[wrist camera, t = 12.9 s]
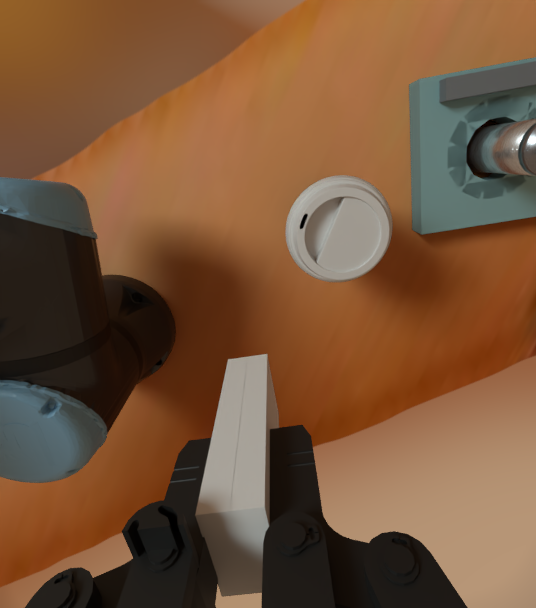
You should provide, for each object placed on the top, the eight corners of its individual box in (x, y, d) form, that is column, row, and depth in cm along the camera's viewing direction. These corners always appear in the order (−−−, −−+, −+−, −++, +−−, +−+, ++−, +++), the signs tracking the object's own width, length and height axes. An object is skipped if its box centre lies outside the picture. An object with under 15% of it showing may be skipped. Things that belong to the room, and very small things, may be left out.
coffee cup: (320, 152, 43) (344, 149, 29) (376, 209, 45) (423, 231, 31) (265, 215, 46) (263, 239, 32) (320, 265, 48) (341, 309, 34)
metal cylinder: (458, 175, 44) (522, 180, 33) (459, 130, 42) (527, 120, 31) (500, 168, 43) (579, 171, 32) (503, 123, 42) (587, 110, 31)
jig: (412, 230, 46) (426, 237, 42) (409, 84, 40) (425, 75, 36) (545, 208, 45) (574, 213, 41) (561, 56, 39) (597, 43, 35)
